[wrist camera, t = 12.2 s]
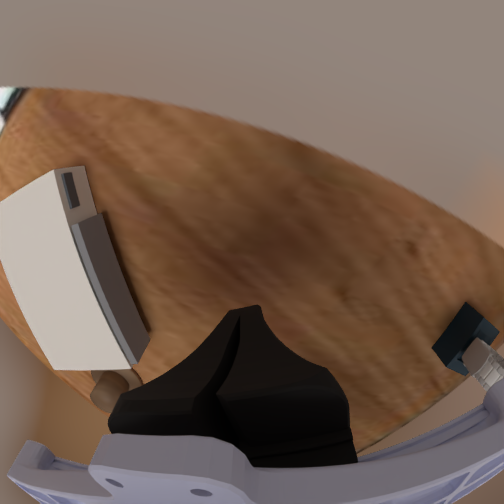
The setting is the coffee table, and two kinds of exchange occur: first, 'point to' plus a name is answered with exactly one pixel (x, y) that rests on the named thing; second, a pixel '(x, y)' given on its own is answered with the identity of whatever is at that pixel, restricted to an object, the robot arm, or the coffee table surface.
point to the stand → (112, 386)
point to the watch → (471, 347)
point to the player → (57, 272)
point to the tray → (111, 286)
